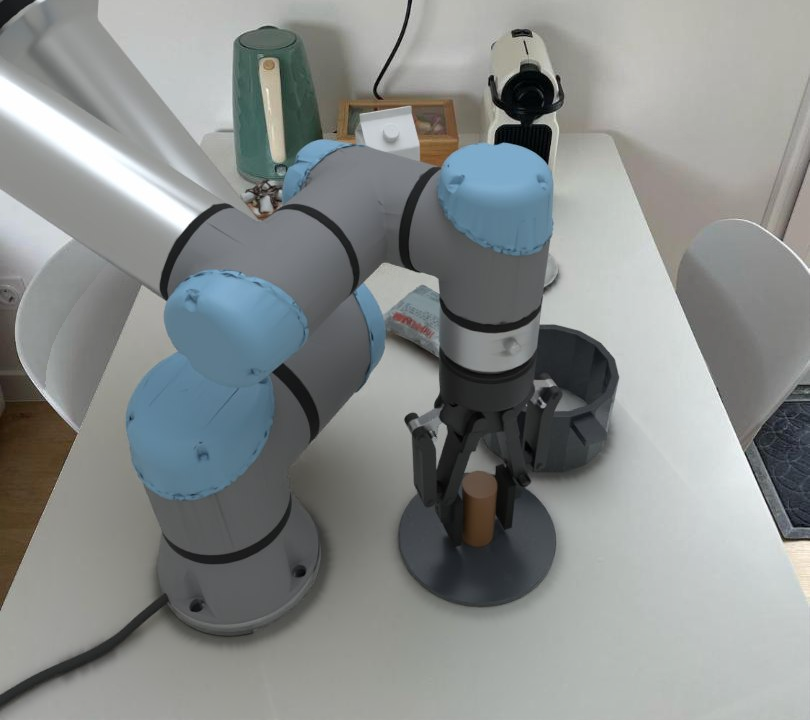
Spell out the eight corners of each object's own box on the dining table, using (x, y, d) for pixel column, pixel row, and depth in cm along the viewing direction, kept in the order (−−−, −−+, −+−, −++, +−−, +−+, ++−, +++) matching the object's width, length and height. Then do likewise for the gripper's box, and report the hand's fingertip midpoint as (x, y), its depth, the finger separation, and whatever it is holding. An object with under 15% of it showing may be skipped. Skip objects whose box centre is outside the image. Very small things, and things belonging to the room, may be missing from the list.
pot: (525, 511, 82) (532, 452, 76) (449, 387, 95) (450, 328, 89) (644, 470, 85) (660, 411, 79) (554, 356, 99) (562, 298, 93)
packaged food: (442, 374, 97) (443, 343, 93) (369, 333, 103) (368, 302, 99) (486, 338, 102) (488, 307, 98) (414, 301, 107) (414, 270, 104)
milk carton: (361, 223, 121) (352, 103, 108) (406, 215, 123) (403, 94, 110) (374, 249, 116) (366, 126, 103) (421, 240, 118) (419, 117, 105)
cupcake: (228, 259, 115) (215, 197, 109) (269, 225, 122) (259, 165, 115) (282, 277, 112) (273, 215, 105) (322, 242, 118) (315, 181, 111)
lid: (434, 633, 72) (434, 579, 66) (377, 505, 83) (373, 449, 77) (584, 578, 76) (596, 522, 70) (511, 462, 86) (517, 405, 81)
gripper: (397, 408, 57) (405, 588, 73) (614, 345, 62) (577, 528, 77) (363, 344, 62) (378, 525, 78) (565, 289, 67) (540, 471, 83)
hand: (477, 526), depth 78 cm, fingers open, 4 cm apart
